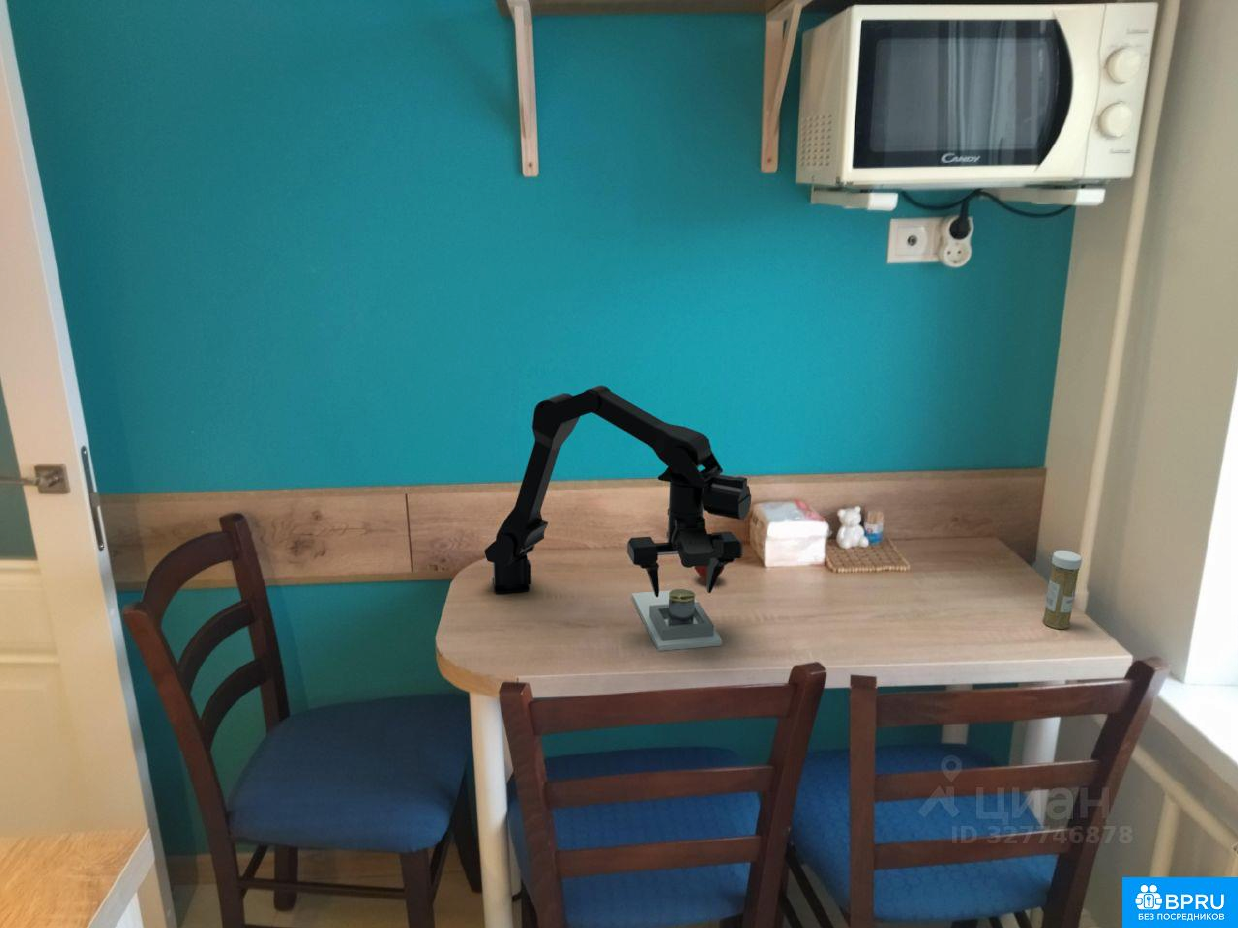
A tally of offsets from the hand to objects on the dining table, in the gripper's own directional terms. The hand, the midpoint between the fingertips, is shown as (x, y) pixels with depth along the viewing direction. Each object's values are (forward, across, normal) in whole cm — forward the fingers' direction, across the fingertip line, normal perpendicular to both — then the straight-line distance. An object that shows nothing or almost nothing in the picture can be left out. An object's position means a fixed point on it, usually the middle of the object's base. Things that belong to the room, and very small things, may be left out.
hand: (682, 594), depth 157 cm
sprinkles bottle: (+7, +67, -9) cm, 68 cm away
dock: (+7, 0, +4) cm, 8 cm away
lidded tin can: (+6, 0, 0) cm, 6 cm away
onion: (+7, +11, +19) cm, 23 cm away
